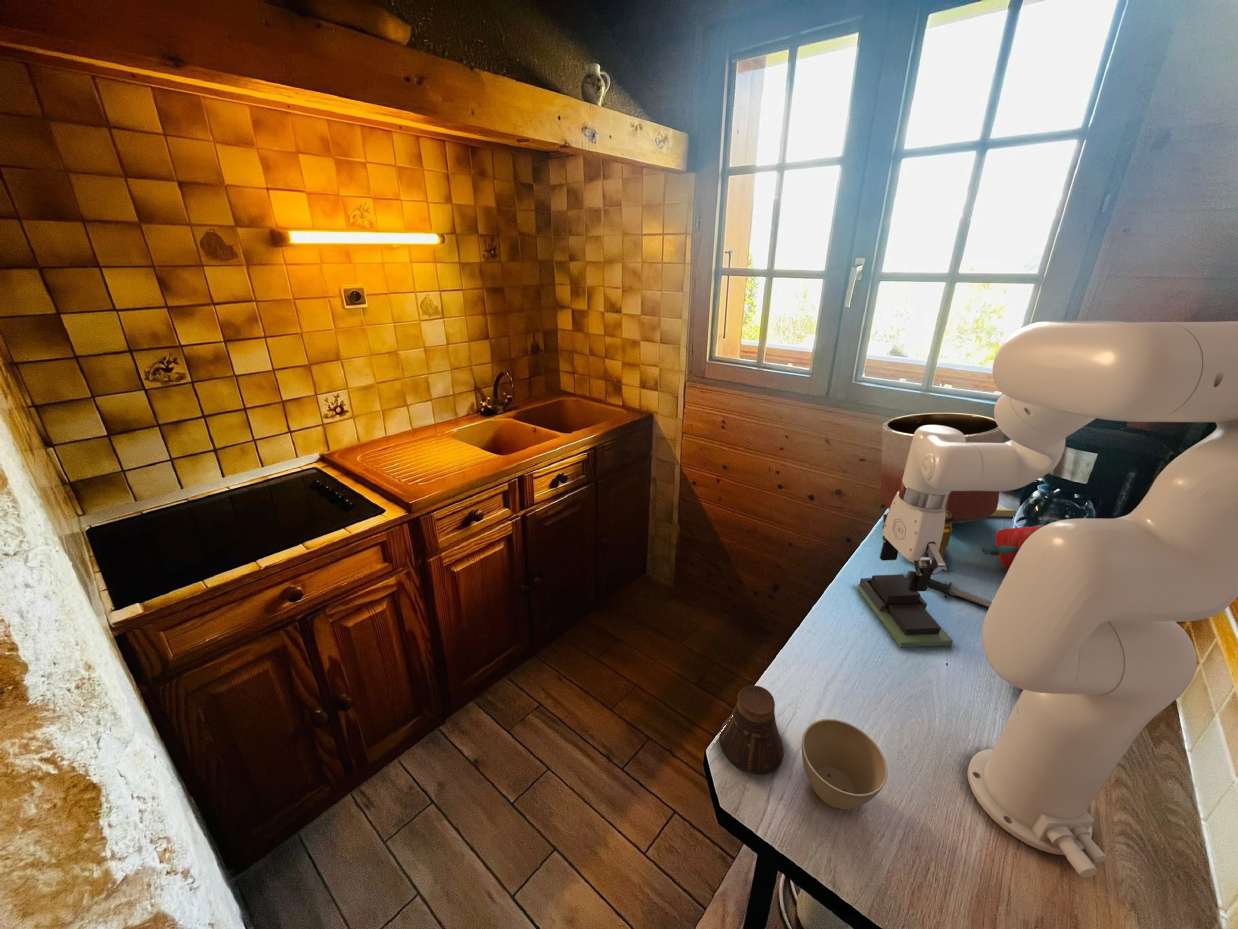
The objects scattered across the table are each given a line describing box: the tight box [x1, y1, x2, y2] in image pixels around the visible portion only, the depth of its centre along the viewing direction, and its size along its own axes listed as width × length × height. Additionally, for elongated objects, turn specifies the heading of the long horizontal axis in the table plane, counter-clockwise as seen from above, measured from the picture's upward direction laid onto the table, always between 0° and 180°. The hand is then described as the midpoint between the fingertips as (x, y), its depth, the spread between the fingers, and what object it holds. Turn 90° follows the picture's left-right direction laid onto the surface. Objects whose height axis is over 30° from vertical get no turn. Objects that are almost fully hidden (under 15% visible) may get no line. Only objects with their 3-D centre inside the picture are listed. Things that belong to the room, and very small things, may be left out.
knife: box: [905, 569, 992, 608], centre depth 98 cm, size 19×2×5 cm
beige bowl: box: [801, 718, 889, 810], centre depth 63 cm, size 10×10×7 cm
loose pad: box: [870, 574, 922, 609], centre depth 96 cm, size 6×6×3 cm
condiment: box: [908, 510, 954, 571], centre depth 108 cm, size 7×8×12 cm
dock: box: [857, 577, 953, 648], centre depth 94 cm, size 16×9×3 cm, turn 2°
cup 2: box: [718, 684, 785, 775], centre depth 68 cm, size 9×9×10 cm
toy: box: [980, 525, 1044, 571], centre depth 104 cm, size 17×10×20 cm
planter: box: [880, 412, 1005, 524], centre depth 123 cm, size 25×25×22 cm
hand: (901, 574), depth 93 cm, fingers open, 9 cm apart
